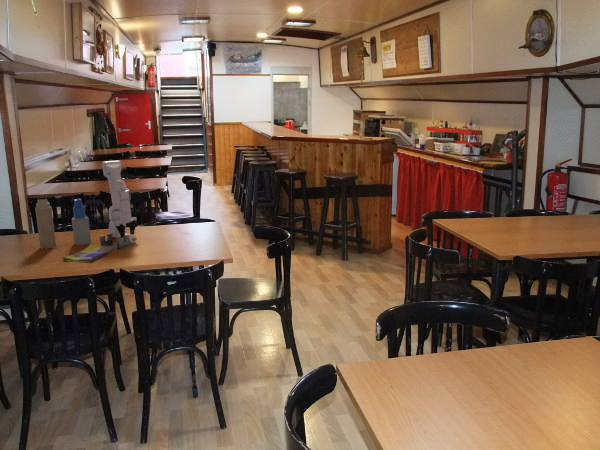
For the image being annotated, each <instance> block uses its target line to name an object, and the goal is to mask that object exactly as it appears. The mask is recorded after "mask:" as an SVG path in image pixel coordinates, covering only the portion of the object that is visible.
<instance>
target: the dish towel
mask: <svg viewBox="0 0 600 450" xmlns="http://www.w3.org/2000/svg"><path fill="white" fill-rule="evenodd" d="M117 249H118V248H117V247H115V246H100V245H95V244H94V245H90V246H88V247H86V248H84V249H83V250H80V251H79V252H76V253H74V254H71V255H68V256H63V257H62V260H66V261H65V262H71V261H74V262H73V263H87V264H89V263H92V262H96V261H97V260H99V259H102V258H105V257H106V256H110V255H111V254H114V253H116V252H117V251H118V250H117Z"/></svg>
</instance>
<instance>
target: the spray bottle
mask: <svg viewBox="0 0 600 450" xmlns="http://www.w3.org/2000/svg"><path fill="white" fill-rule="evenodd" d="M73 201H74V204H73V207H72V210H73V211H72V212H73V217H72V218H71V225H72V226H71V228H72V235H73V242H74V245H75V244H76V245H75V246H85V245H89V244H91V243H92V239H91V238H92V237H91V236H92V235H91V227H90V226H91V225H90V220H89V219H90V218H89V216H87V215H86V207H85V205H84V204H83V202H82V201H83V200H82V198H76V199H74V200H73Z"/></svg>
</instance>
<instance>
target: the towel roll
mask: <svg viewBox="0 0 600 450" xmlns="http://www.w3.org/2000/svg"><path fill="white" fill-rule="evenodd" d="M125 235H129V239H130V244H135V243H136V241H137V239H138V238H137V237H136V235H135V234H134V235H133V234H130V233H127V234H125ZM119 237H121V236H120V234H118V236H117V238H119ZM122 241H123V242H124V238H122Z"/></svg>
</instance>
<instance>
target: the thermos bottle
mask: <svg viewBox="0 0 600 450" xmlns="http://www.w3.org/2000/svg"><path fill="white" fill-rule="evenodd" d="M36 199H37V201H36V204H35V207H34V209H35V217H36V226H37V232H38V239H39V249H41V248H45V249H44V250H47V249H46V248H51V249H54V248H53V247H55V248H56V247H57V242H56V234H55V227H54V216H53V210H52V206H50V205H51V204H50V202H49V201H48V196H38V197H36Z"/></svg>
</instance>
